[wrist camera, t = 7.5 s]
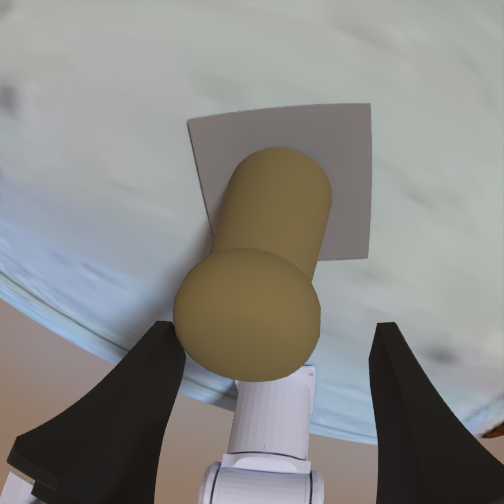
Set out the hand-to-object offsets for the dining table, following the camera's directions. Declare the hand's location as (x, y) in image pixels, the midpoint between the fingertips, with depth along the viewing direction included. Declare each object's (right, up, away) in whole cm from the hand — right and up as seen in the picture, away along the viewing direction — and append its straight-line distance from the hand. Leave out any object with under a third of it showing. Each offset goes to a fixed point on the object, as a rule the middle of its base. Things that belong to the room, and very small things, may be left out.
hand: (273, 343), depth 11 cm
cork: (+1, +6, +8) cm, 10 cm away
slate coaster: (+1, +7, +9) cm, 11 cm away
